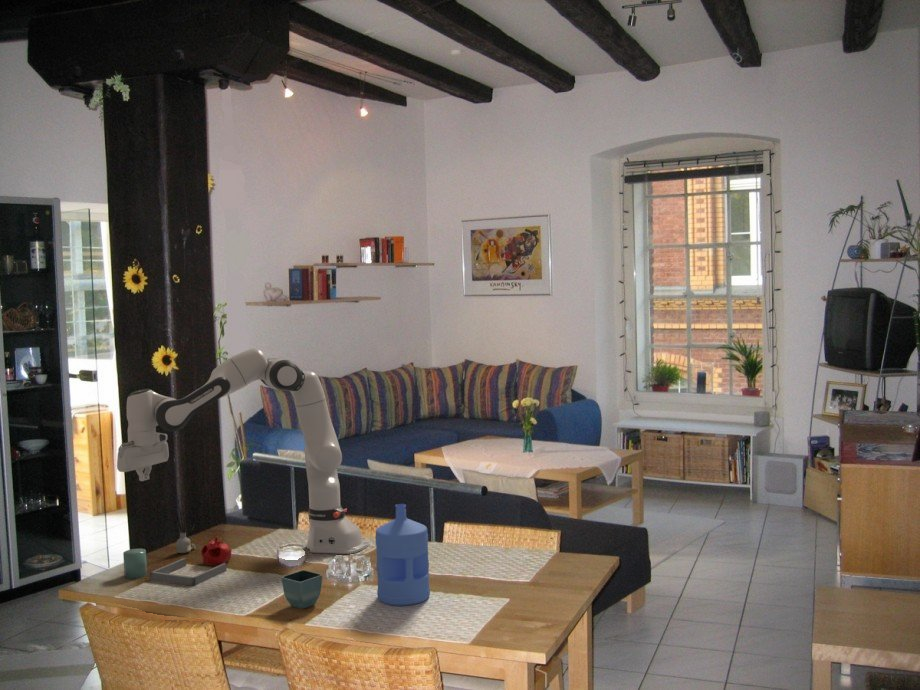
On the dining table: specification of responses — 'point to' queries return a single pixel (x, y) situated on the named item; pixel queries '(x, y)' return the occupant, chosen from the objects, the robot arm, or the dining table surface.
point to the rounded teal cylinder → (135, 563)
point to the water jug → (402, 561)
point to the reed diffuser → (183, 536)
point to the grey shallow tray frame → (163, 576)
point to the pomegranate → (216, 553)
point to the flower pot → (302, 588)
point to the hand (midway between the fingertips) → (144, 480)
